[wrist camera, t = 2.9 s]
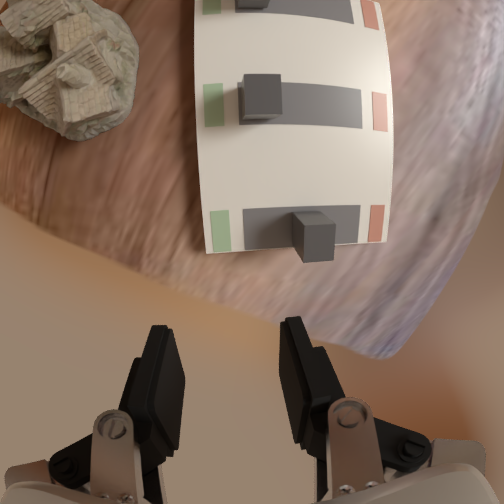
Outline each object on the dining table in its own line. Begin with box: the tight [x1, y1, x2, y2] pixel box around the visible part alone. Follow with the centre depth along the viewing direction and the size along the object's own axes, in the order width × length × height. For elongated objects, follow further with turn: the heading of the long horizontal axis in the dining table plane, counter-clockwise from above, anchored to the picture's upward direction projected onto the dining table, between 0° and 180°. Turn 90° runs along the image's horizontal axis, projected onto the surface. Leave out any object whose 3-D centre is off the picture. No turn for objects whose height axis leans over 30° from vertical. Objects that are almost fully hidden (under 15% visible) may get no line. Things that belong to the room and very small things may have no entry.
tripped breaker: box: [292, 211, 336, 263], centre depth 23 cm, size 2×3×4 cm
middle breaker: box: [241, 74, 283, 120], centre depth 18 cm, size 2×3×4 cm
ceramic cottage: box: [0, 0, 139, 141], centre depth 12 cm, size 16×16×15 cm
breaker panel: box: [194, 0, 393, 254], centre depth 21 cm, size 18×26×2 cm
